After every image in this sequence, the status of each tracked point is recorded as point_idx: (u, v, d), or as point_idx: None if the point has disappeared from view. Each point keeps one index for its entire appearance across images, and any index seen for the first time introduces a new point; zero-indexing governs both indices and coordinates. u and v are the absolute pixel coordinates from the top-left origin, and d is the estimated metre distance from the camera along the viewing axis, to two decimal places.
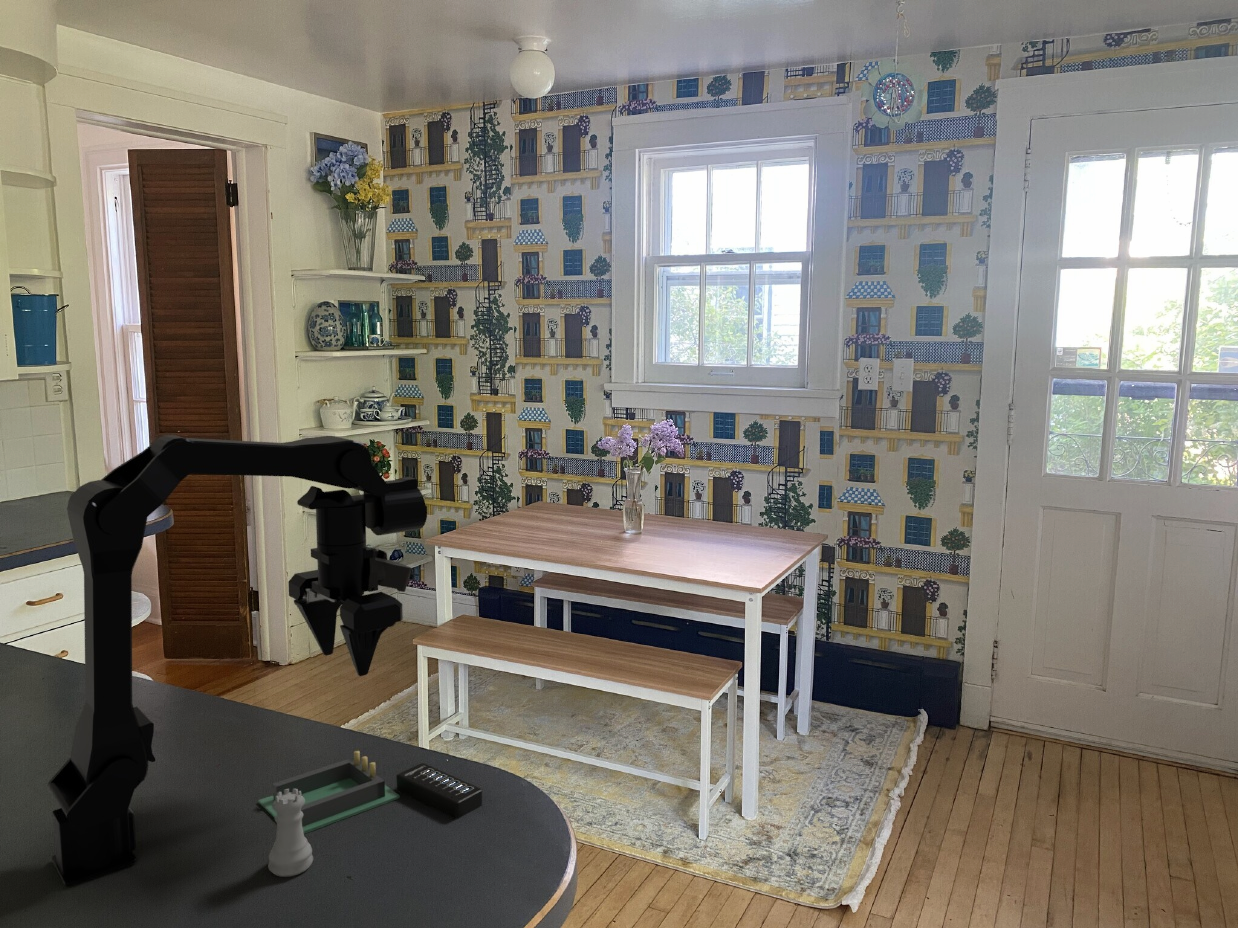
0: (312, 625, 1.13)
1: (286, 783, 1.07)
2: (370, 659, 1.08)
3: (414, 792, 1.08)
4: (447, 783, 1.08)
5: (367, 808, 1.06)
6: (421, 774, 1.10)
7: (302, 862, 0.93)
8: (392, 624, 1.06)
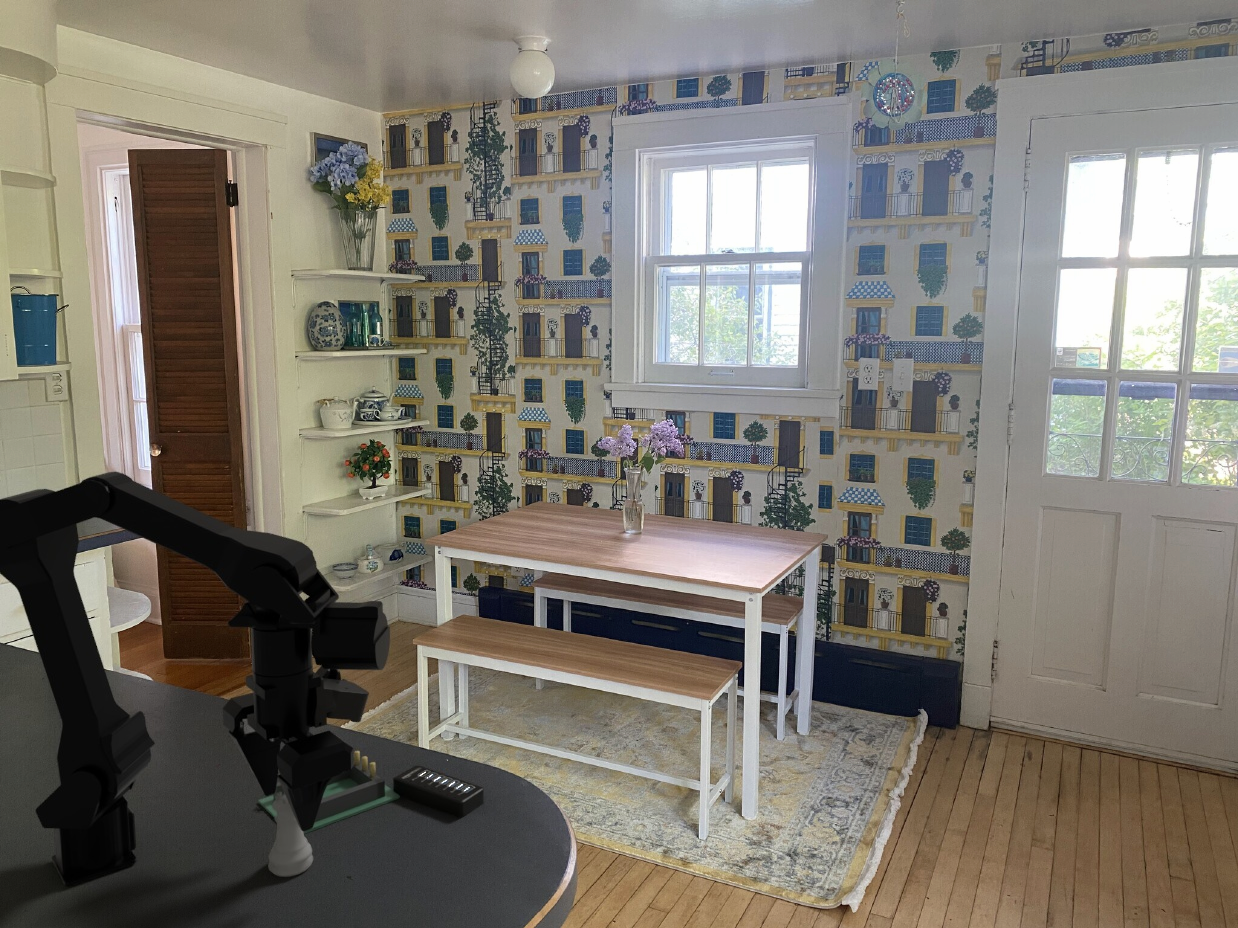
0: (250, 762, 0.95)
1: None
2: (315, 811, 0.90)
3: (414, 794, 1.08)
4: (447, 783, 1.08)
5: (367, 808, 1.06)
6: (418, 776, 1.10)
7: (302, 862, 0.93)
8: (341, 771, 0.88)
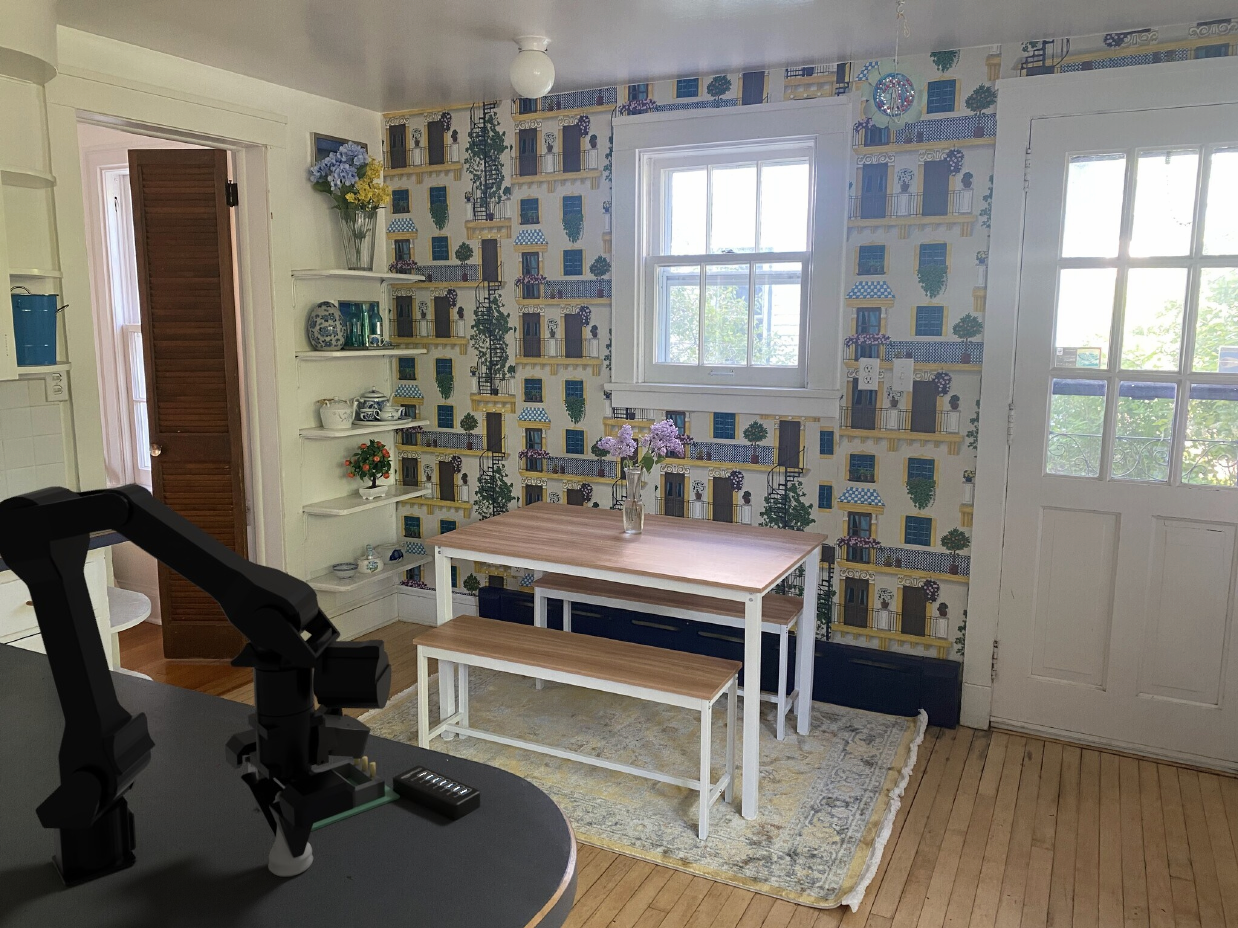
0: (262, 808, 0.94)
1: None
2: (306, 838, 0.92)
3: (411, 795, 1.08)
4: (444, 785, 1.08)
5: (367, 808, 1.06)
6: (418, 776, 1.10)
7: (302, 862, 0.93)
8: None
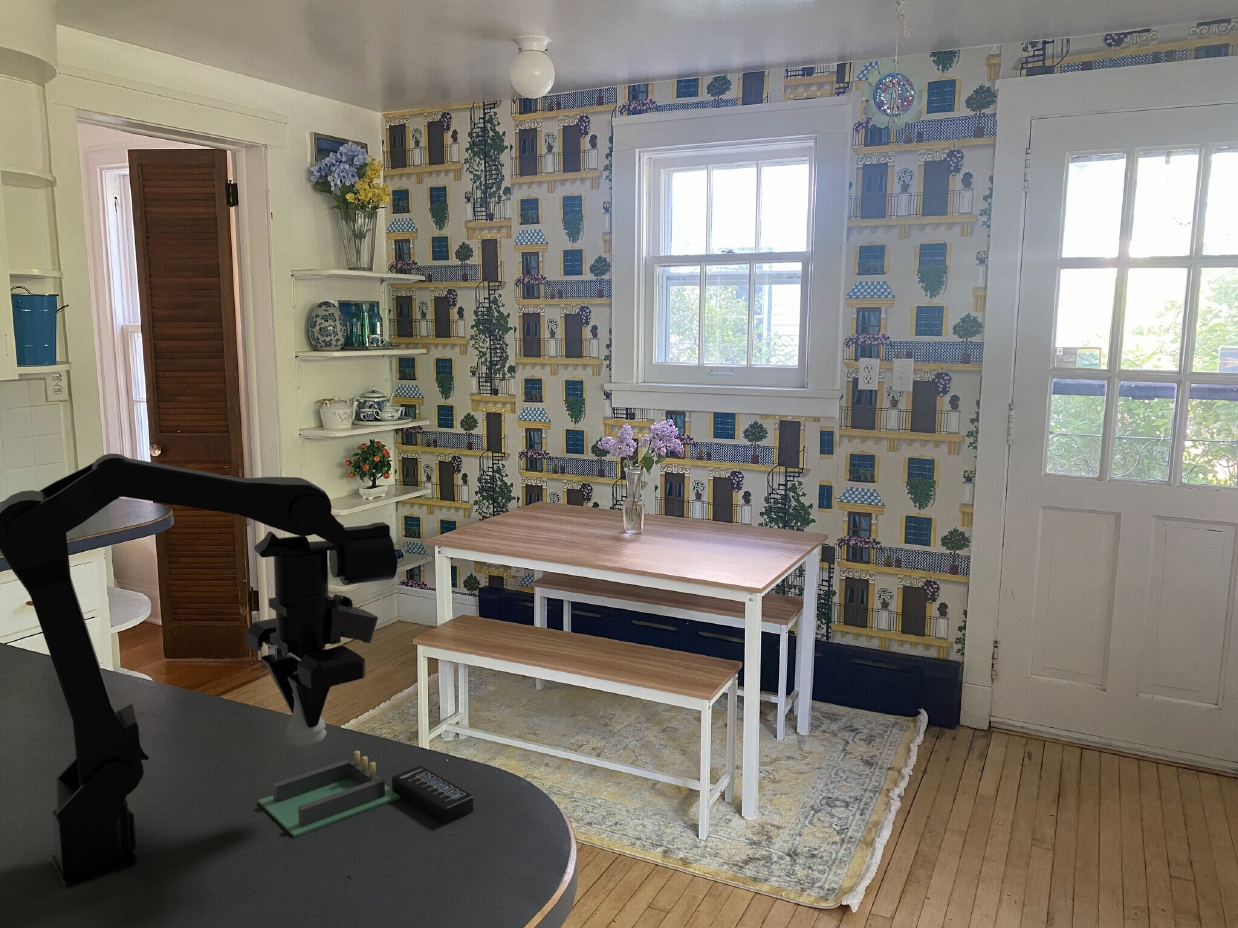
0: (280, 685, 1.04)
1: (286, 783, 1.07)
2: (320, 710, 1.03)
3: (407, 795, 1.07)
4: (440, 788, 1.07)
5: (367, 808, 1.06)
6: (416, 777, 1.10)
7: (317, 734, 1.04)
8: None
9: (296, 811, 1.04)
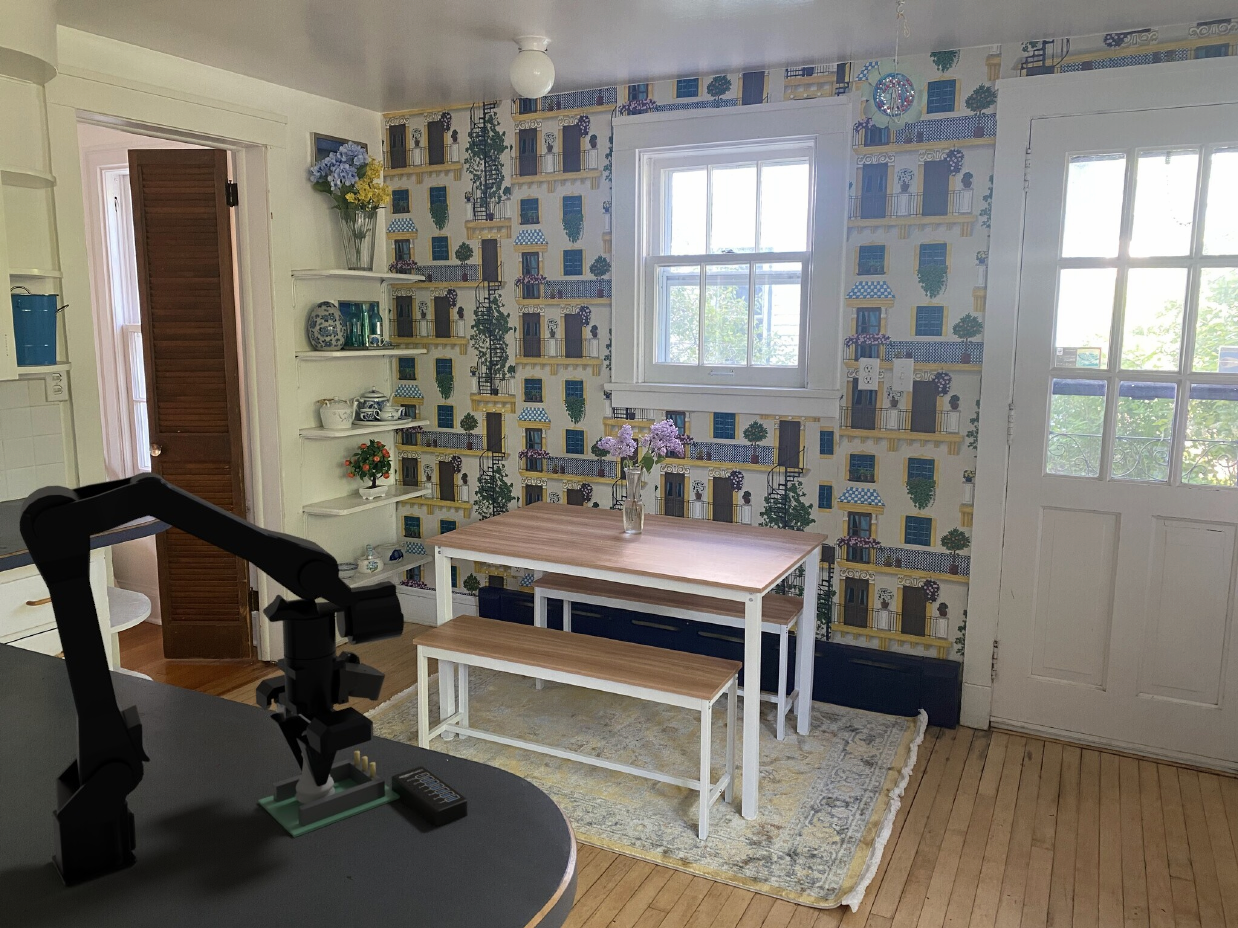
0: (289, 743, 1.06)
1: (286, 783, 1.07)
2: (329, 769, 1.04)
3: (404, 795, 1.07)
4: (436, 789, 1.07)
5: (367, 808, 1.06)
6: (415, 778, 1.09)
7: (326, 793, 1.05)
8: None
9: (296, 811, 1.04)
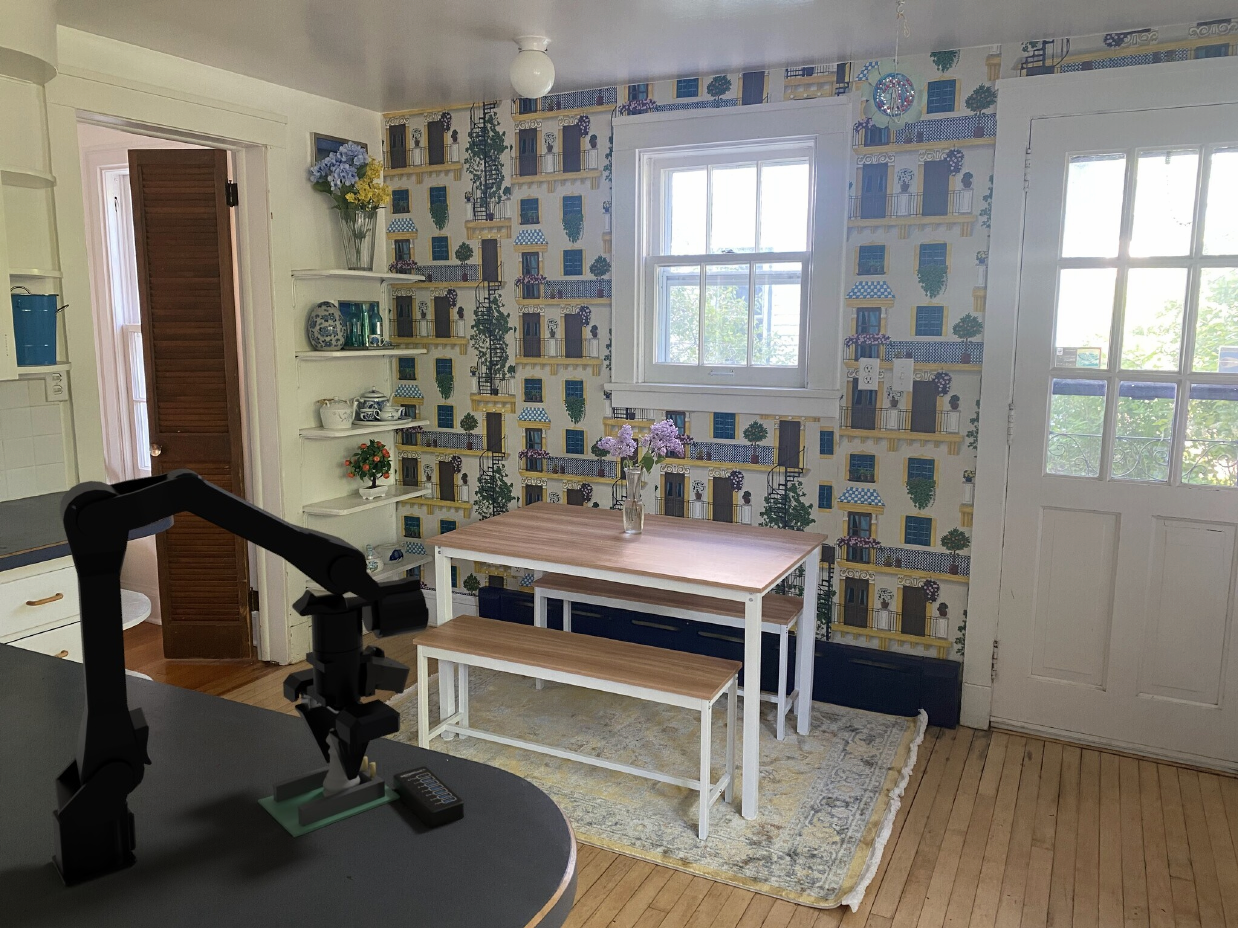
0: (314, 733, 1.09)
1: (286, 783, 1.07)
2: (360, 763, 1.06)
3: (404, 795, 1.08)
4: (434, 790, 1.07)
5: (367, 808, 1.06)
6: (416, 777, 1.09)
7: None
8: None
9: (296, 811, 1.04)
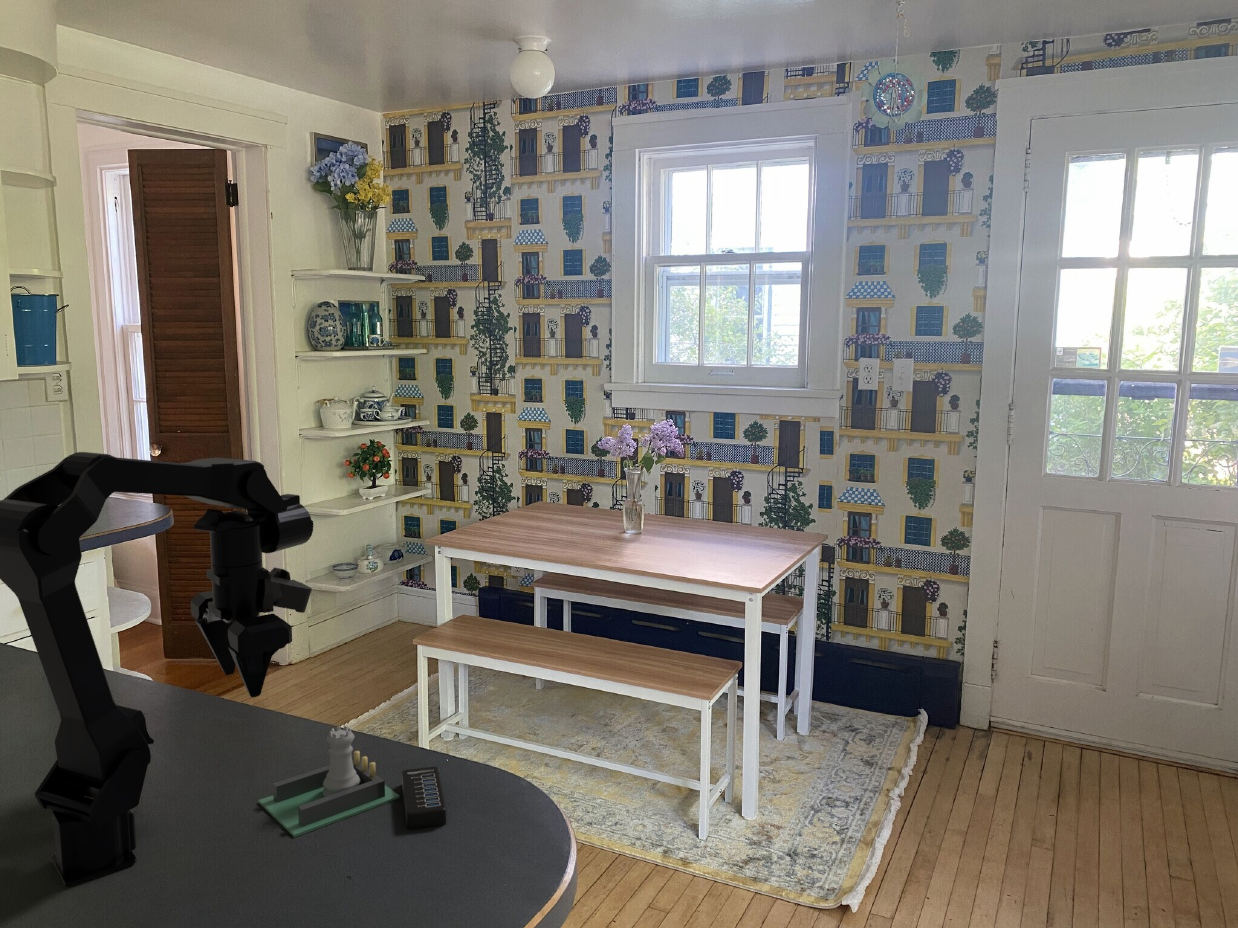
0: (212, 645, 1.13)
1: (286, 783, 1.07)
2: (262, 681, 1.08)
3: (403, 792, 1.08)
4: (426, 792, 1.06)
5: (367, 808, 1.06)
6: (420, 776, 1.10)
7: None
8: (282, 646, 1.06)
9: (296, 811, 1.04)
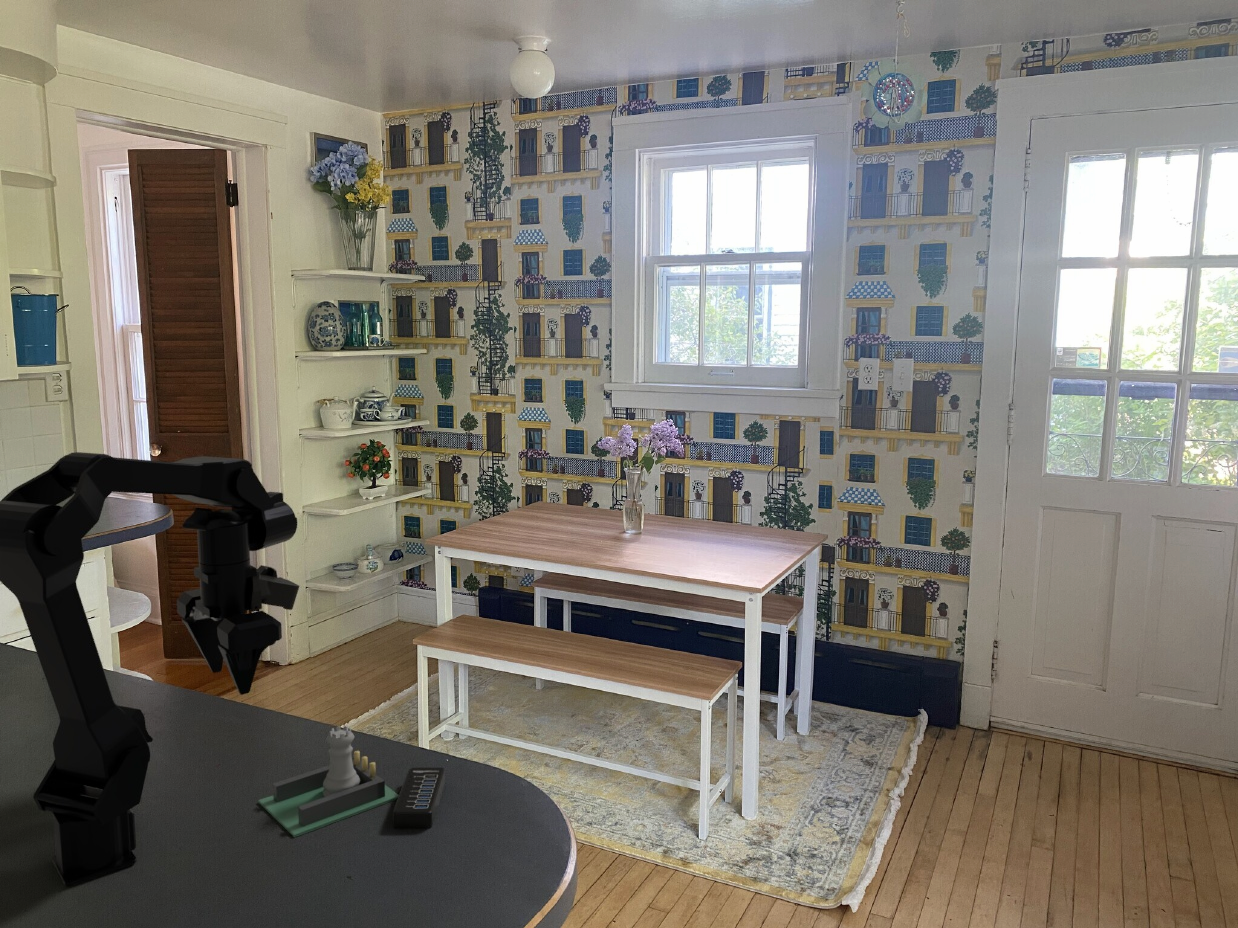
0: (199, 643, 1.14)
1: (286, 783, 1.07)
2: (251, 678, 1.08)
3: None
4: (421, 793, 1.06)
5: (367, 808, 1.06)
6: (422, 776, 1.10)
7: None
8: (271, 643, 1.07)
9: (296, 811, 1.04)
